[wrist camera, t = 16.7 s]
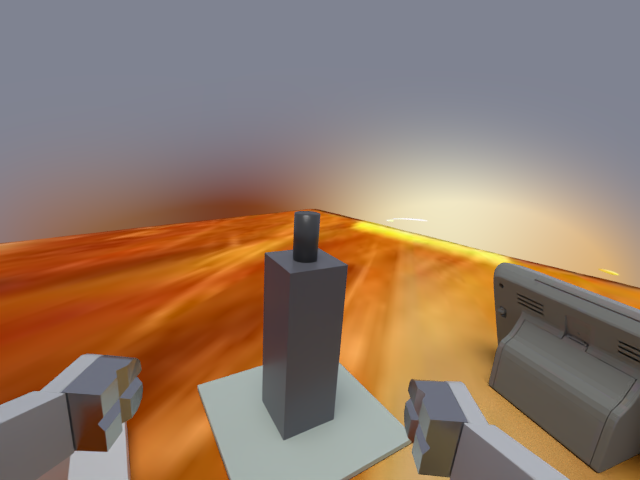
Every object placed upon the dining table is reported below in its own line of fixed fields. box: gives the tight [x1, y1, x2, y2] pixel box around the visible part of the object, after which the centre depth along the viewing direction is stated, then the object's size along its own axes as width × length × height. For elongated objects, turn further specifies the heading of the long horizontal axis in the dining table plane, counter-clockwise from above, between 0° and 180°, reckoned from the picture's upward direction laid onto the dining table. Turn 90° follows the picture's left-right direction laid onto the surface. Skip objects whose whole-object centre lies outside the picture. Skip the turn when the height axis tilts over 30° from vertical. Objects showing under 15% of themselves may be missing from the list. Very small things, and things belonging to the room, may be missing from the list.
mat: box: [198, 363, 412, 480], centre depth 25 cm, size 12×12×1 cm
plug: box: [262, 211, 348, 441], centre depth 23 cm, size 4×4×15 cm
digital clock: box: [489, 263, 640, 473], centre depth 25 cm, size 16×9×11 cm, turn 10°
